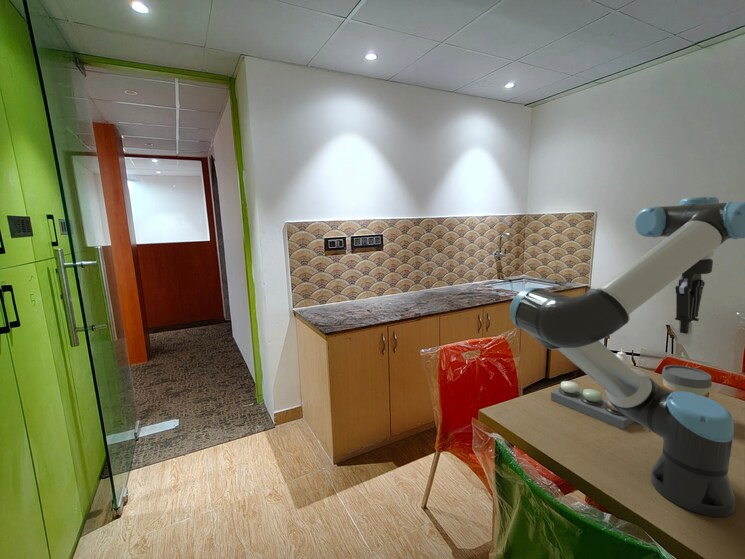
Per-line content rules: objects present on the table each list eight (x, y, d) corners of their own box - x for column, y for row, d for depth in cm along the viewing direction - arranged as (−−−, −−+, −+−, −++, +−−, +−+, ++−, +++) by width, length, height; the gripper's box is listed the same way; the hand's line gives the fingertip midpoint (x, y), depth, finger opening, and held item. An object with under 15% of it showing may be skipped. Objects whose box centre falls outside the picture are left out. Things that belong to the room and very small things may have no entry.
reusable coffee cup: (717, 425, 111) (723, 381, 109) (672, 422, 114) (676, 379, 112) (690, 405, 124) (695, 365, 121) (650, 403, 126) (654, 363, 124)
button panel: (623, 429, 111) (623, 419, 111) (550, 399, 131) (551, 390, 131) (637, 419, 116) (637, 409, 116) (565, 392, 136) (565, 383, 136)
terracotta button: (623, 413, 113) (623, 407, 112) (604, 406, 117) (604, 400, 117) (630, 408, 116) (631, 402, 115) (612, 401, 120) (612, 396, 120)
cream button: (572, 394, 126) (573, 389, 126) (557, 388, 131) (557, 383, 130) (581, 390, 129) (581, 385, 129) (565, 384, 134) (566, 379, 133)
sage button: (596, 403, 119) (596, 398, 119) (579, 397, 124) (580, 391, 124) (604, 398, 122) (605, 393, 122) (587, 392, 127) (588, 387, 127)
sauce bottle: (602, 388, 138) (605, 344, 136) (614, 383, 142) (617, 341, 139) (623, 396, 131) (627, 351, 129) (635, 391, 135) (639, 347, 132)
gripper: (703, 260, 85) (693, 353, 88) (720, 256, 91) (710, 342, 95) (665, 258, 91) (657, 345, 94) (684, 255, 98) (676, 335, 101)
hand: (684, 343), depth 95 cm, fingers closed
